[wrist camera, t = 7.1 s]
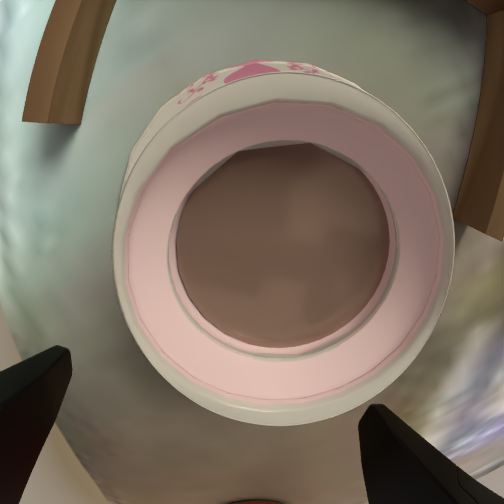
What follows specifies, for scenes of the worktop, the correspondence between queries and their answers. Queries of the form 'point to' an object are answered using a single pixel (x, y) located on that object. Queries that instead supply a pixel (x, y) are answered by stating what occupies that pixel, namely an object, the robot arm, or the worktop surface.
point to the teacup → (281, 244)
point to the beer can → (257, 502)
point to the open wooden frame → (87, 47)
